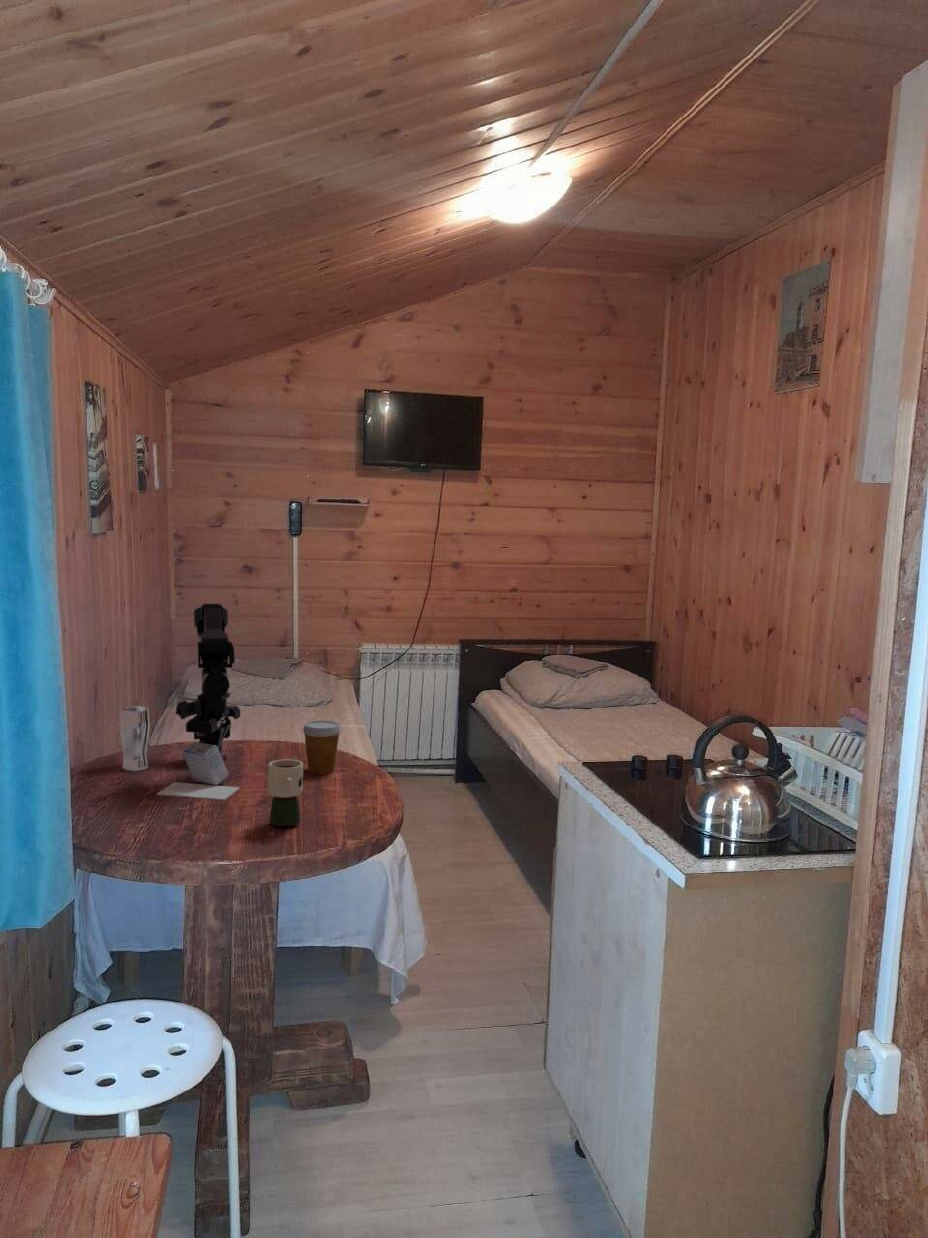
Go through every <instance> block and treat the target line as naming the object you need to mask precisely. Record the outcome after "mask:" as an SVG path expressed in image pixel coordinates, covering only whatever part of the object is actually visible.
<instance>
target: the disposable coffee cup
mask: <svg viewBox="0 0 928 1238" xmlns="http://www.w3.org/2000/svg"><path fill="white" fill-rule="evenodd" d="M302 731H303V734H304V739H305V740H304V741H305V750H306V760H307V768H308V773H310V774H313V775H329V774H332V773H334V770H335V764H336V758H337V757H336V756H337V751H338V744H339V737H340V734H341V731H342V728H341V725H340V722H339V723H338V722H336V721H332V720H313V721H308V722H306V723H305V724H304V727H303V728H302Z"/></svg>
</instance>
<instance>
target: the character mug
mask: <svg viewBox="0 0 928 1238" xmlns="http://www.w3.org/2000/svg"><path fill="white" fill-rule="evenodd" d="M267 776H268V777H267V779H268V780H267V792H268V795H270V796H272V797H273V798H272V800H271V807H270V815H269V824H270V825H273V826H284V827H286V828H287V827H288V826H296V825H298V824H300V823H301V813H300V811H301V810H300V804H299V799H298V797H297V796H300V795H301V794H302V793H303V790H304V763H303V761H302V760H296V759H290V758H289V759H288V758H285V759H284V758H283V759H276V760H272V761H270V762H269V763H268V771H267Z"/></svg>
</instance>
